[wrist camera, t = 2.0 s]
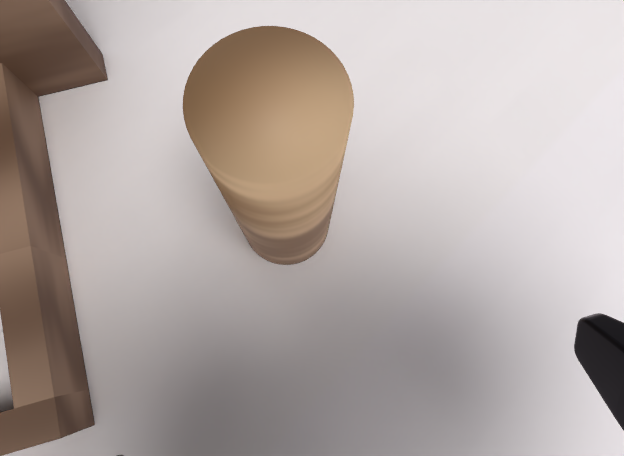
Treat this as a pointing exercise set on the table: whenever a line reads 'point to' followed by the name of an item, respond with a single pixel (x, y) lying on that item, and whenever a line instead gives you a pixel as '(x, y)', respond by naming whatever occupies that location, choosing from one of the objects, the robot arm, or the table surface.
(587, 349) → the robot arm
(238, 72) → the peg
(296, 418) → the table surface
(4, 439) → the socket stand
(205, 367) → the table surface
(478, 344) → the table surface
